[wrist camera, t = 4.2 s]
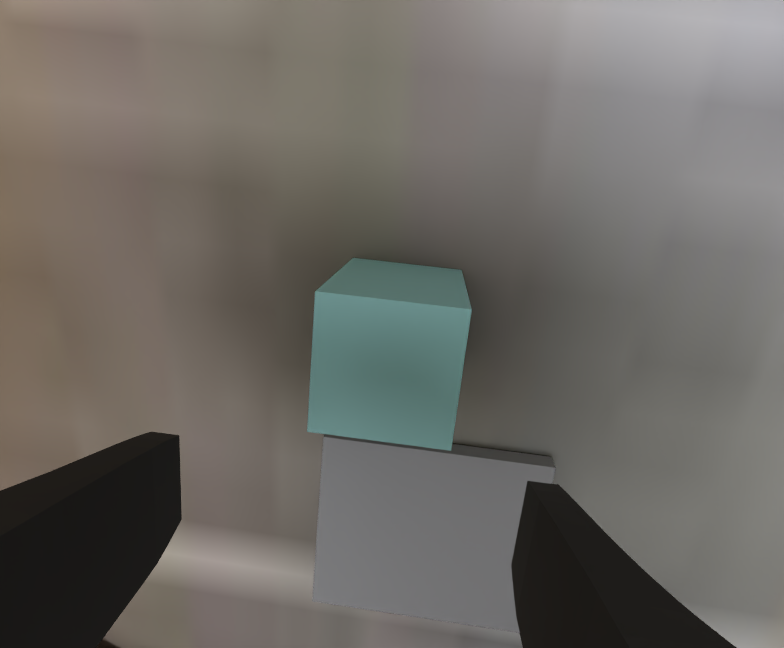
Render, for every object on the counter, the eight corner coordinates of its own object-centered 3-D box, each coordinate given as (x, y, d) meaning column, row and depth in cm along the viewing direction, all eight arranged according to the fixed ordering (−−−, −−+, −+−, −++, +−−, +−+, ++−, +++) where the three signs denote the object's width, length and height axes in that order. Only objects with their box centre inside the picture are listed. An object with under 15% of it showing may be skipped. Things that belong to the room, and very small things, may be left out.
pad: (551, 456, 20) (555, 467, 19) (517, 617, 22) (520, 632, 22) (327, 427, 21) (323, 436, 20) (316, 587, 23) (312, 601, 22)
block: (461, 269, 18) (472, 309, 13) (447, 371, 20) (451, 450, 14) (353, 257, 19) (315, 291, 13) (345, 359, 20) (307, 431, 14)
